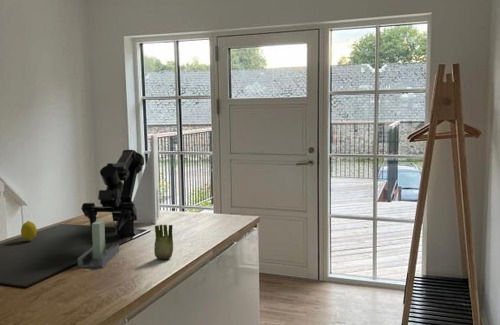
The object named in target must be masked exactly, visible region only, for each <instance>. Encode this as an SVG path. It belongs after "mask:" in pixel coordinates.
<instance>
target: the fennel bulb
mask: <svg viewBox="0 0 500 325" xmlns="http://www.w3.org/2000/svg"><path fill="white" fill-rule="evenodd" d="M154 232H155V241H154V247H153V248H154V256H155V258H156V259H158V260H168V259H171V258H172V255H173V252H174V239H173V238H174V236H173V224H156V225H154Z"/></svg>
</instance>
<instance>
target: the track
mask: <svg viewBox="0 0 500 325" xmlns="http://www.w3.org/2000/svg"><path fill="white" fill-rule="evenodd" d="M119 246H120V244H119V243H118V242H114V243H113V244H112V245H111V246H110V247H109V248H108V249H106V248H105V251H106V252H104V253H103V254H102V255H101V256H100V257H99V258H98V259H93V246H91V247H90V248H89V249H88V250H87V251H85V252H84V253H82V254H81V255H79V257H78V258H77V268H78V269H86V268H87V269H91V268H93V269H94V268H95V269H97V268H99V269H100V268H101V269H102V268H104V267H105V266H107V264H108V263H109V262H110V261H111V260H112V259H114V257H115V256H116V255H117V254H118V253H119V252H120V247H119Z"/></svg>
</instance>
